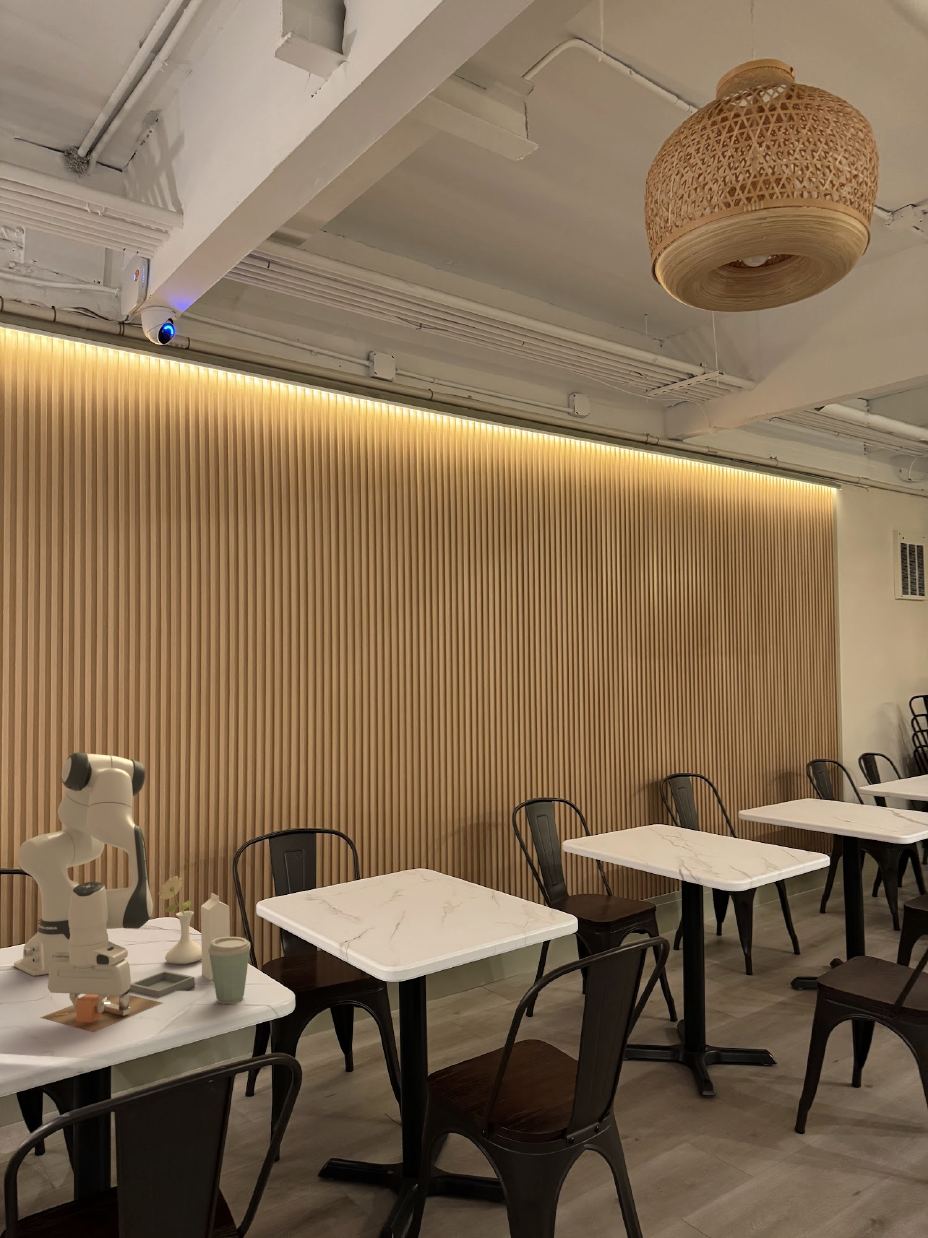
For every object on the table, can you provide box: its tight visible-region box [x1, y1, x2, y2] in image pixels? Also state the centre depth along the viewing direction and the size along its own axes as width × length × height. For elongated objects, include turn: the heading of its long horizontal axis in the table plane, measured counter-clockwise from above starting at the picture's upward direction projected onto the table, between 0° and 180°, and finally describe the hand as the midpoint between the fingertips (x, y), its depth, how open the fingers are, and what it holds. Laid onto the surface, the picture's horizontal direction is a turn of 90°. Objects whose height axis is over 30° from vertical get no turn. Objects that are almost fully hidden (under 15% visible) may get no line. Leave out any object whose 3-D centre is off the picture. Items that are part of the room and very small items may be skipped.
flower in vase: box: [158, 875, 202, 965], centre depth 256 cm, size 13×11×25 cm
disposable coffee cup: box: [208, 936, 251, 1005], centre depth 224 cm, size 11×11×15 cm
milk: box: [200, 892, 231, 981], centre depth 244 cm, size 6×6×22 cm
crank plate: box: [40, 994, 163, 1033], centre depth 215 cm, size 20×20×2 cm
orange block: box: [76, 994, 102, 1022], centre depth 210 cm, size 4×4×5 cm
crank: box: [104, 987, 132, 1016], centre depth 214 cm, size 11×4×6 cm, turn 59°
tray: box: [130, 970, 196, 998], centre depth 231 cm, size 12×12×3 cm
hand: (89, 1012), depth 210 cm, fingers closed on orange block, 4 cm apart
